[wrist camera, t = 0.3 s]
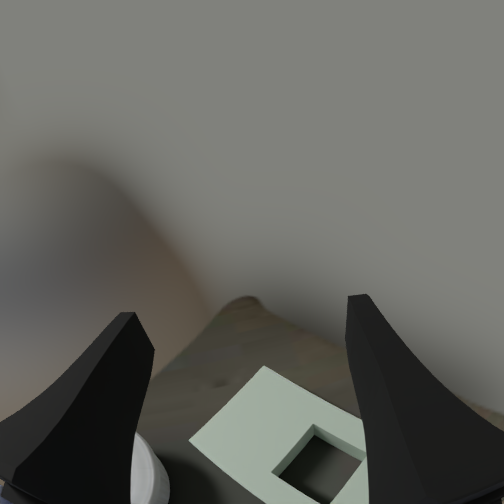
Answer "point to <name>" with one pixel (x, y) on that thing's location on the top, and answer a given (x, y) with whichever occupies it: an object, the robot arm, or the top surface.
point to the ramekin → (147, 475)
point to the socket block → (280, 438)
